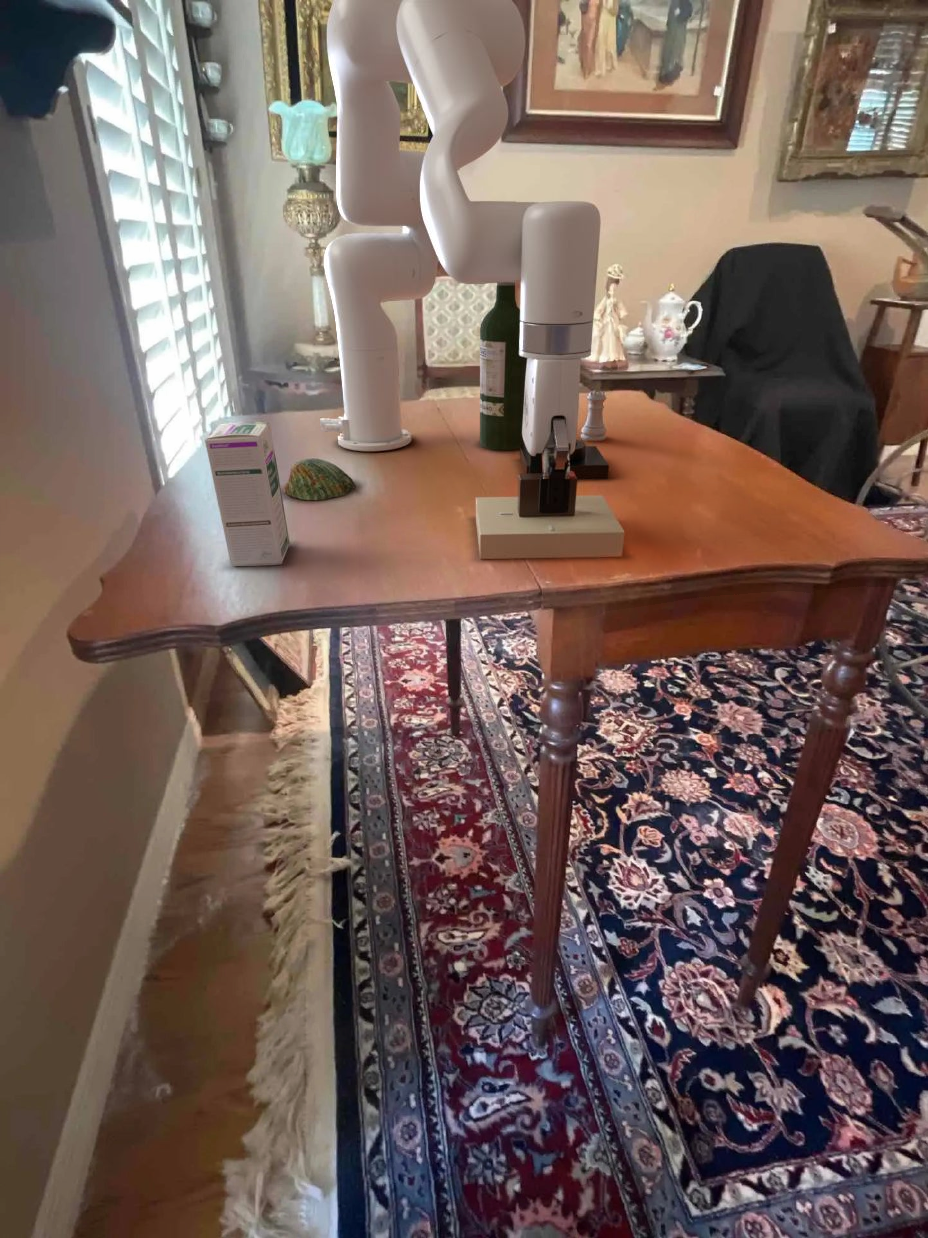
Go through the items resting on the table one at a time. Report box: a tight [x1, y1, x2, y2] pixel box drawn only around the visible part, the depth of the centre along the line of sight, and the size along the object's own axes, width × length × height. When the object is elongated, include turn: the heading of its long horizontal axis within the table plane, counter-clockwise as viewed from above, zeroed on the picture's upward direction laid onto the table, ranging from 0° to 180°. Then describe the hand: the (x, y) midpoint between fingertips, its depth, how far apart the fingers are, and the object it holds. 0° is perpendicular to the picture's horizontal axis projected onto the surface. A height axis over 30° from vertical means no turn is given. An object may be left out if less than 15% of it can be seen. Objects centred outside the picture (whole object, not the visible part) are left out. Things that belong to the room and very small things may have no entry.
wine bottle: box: [479, 282, 527, 452], centre depth 110 cm, size 8×8×30 cm
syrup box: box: [204, 421, 290, 567], centre depth 75 cm, size 6×6×14 cm
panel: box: [475, 494, 625, 560], centre depth 82 cm, size 16×12×3 cm
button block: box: [519, 439, 610, 481], centre depth 104 cm, size 12×10×4 cm
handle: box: [517, 471, 578, 517], centre depth 80 cm, size 6×2×5 cm, turn 91°
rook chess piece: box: [580, 389, 607, 443], centre depth 118 cm, size 4×4×8 cm
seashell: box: [283, 458, 356, 501], centre depth 98 cm, size 10×4×10 cm
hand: (547, 497), depth 80 cm, fingers open, 9 cm apart
